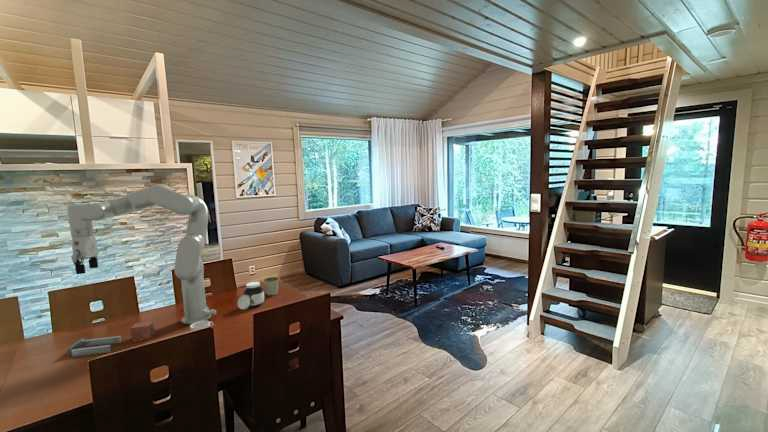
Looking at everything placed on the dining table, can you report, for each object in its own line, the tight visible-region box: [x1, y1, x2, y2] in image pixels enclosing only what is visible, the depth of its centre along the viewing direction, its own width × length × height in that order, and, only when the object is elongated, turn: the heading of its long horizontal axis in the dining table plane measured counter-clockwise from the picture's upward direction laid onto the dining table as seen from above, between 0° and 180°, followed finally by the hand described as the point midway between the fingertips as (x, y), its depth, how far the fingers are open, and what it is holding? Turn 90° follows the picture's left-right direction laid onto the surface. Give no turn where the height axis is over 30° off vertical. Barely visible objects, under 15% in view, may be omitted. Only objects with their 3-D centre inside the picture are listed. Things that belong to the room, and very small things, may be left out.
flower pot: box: [262, 276, 281, 297], centre depth 206 cm, size 9×9×9 cm
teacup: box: [189, 320, 214, 332], centre depth 155 cm, size 10×8×5 cm
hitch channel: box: [67, 335, 122, 358], centre depth 145 cm, size 14×9×4 cm
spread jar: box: [237, 281, 265, 310], centre depth 187 cm, size 12×11×12 cm
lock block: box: [130, 321, 156, 342], centre depth 154 cm, size 7×5×6 cm
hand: (87, 270), depth 158 cm, fingers open, 9 cm apart
